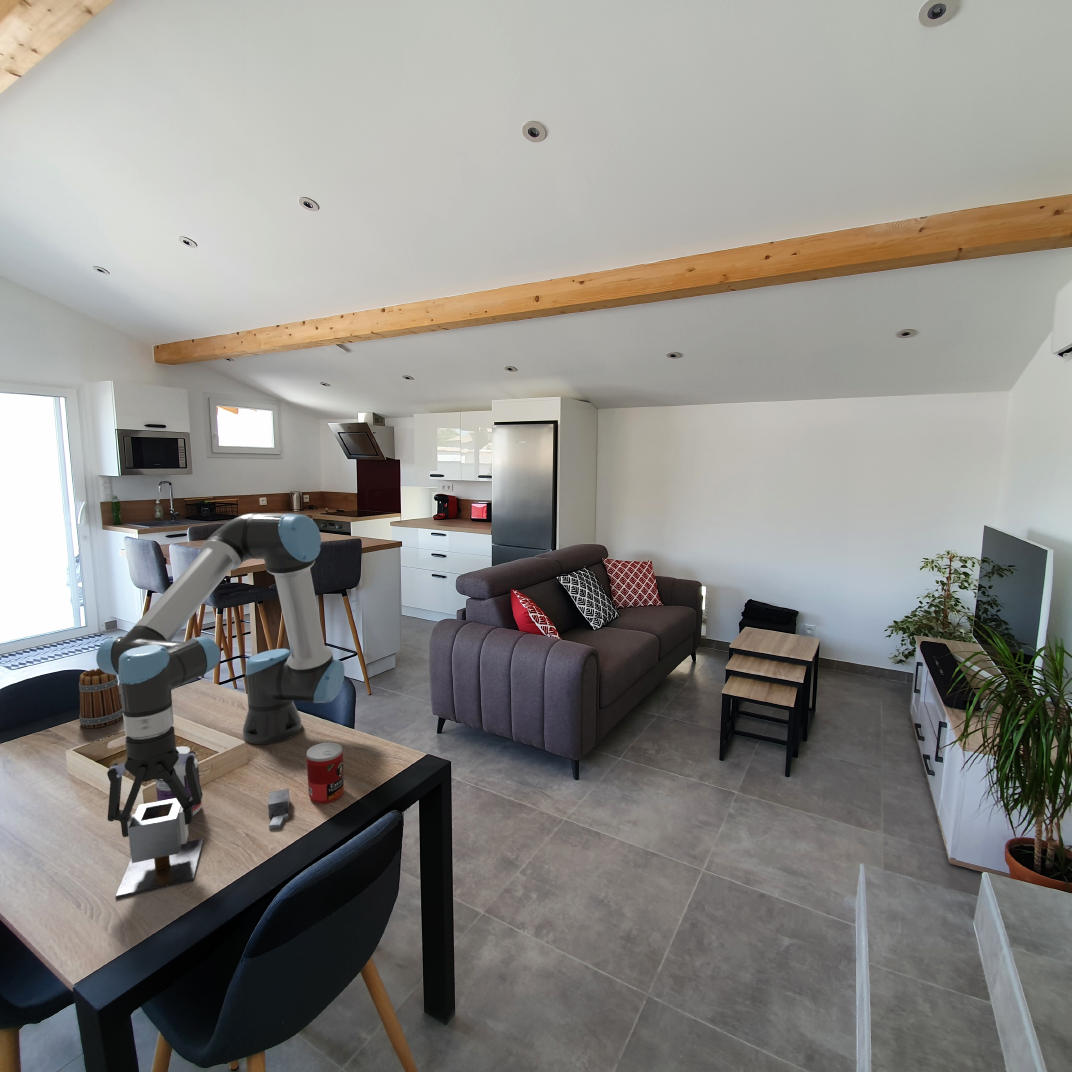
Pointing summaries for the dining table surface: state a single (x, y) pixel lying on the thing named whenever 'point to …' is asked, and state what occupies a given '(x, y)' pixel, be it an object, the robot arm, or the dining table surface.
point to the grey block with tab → (278, 807)
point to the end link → (155, 830)
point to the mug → (99, 699)
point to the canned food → (325, 772)
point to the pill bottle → (164, 789)
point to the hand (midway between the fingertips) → (160, 844)
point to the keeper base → (161, 871)
